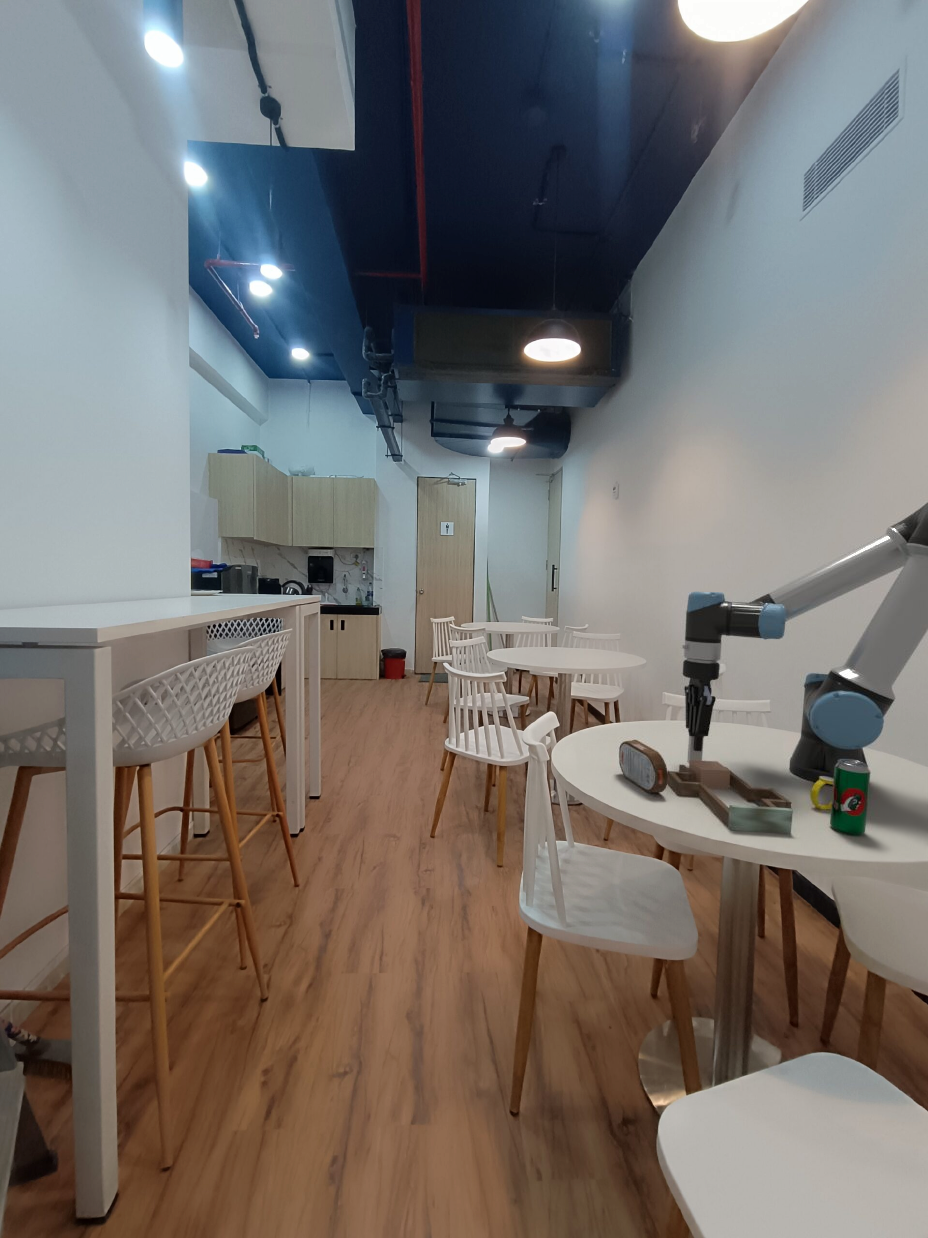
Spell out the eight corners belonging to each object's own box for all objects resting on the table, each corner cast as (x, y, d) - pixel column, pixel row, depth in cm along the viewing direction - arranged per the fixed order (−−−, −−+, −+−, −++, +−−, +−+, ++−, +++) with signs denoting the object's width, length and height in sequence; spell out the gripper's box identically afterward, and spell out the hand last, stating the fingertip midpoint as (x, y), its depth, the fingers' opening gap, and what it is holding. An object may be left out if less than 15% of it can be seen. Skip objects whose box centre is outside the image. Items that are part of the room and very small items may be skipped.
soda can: (872, 835, 95) (878, 766, 94) (849, 838, 93) (855, 768, 93) (844, 823, 100) (850, 757, 99) (822, 825, 98) (828, 758, 97)
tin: (668, 799, 108) (670, 756, 107) (653, 799, 107) (656, 756, 107) (628, 772, 123) (630, 735, 122) (615, 773, 122) (617, 735, 121)
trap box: (744, 779, 121) (745, 761, 121) (815, 835, 94) (817, 812, 94) (660, 774, 122) (661, 756, 122) (706, 828, 95) (707, 805, 95)
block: (715, 779, 121) (717, 761, 121) (728, 789, 115) (730, 770, 115) (688, 778, 121) (689, 760, 121) (700, 788, 115) (701, 769, 115)
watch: (830, 806, 108) (834, 776, 108) (843, 811, 106) (847, 781, 105) (805, 805, 107) (809, 775, 107) (817, 811, 104) (822, 780, 104)
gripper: (675, 655, 131) (668, 753, 133) (694, 663, 118) (687, 772, 120) (707, 657, 131) (700, 755, 132) (730, 665, 118) (722, 774, 119)
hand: (694, 763), depth 126 cm, fingers closed
